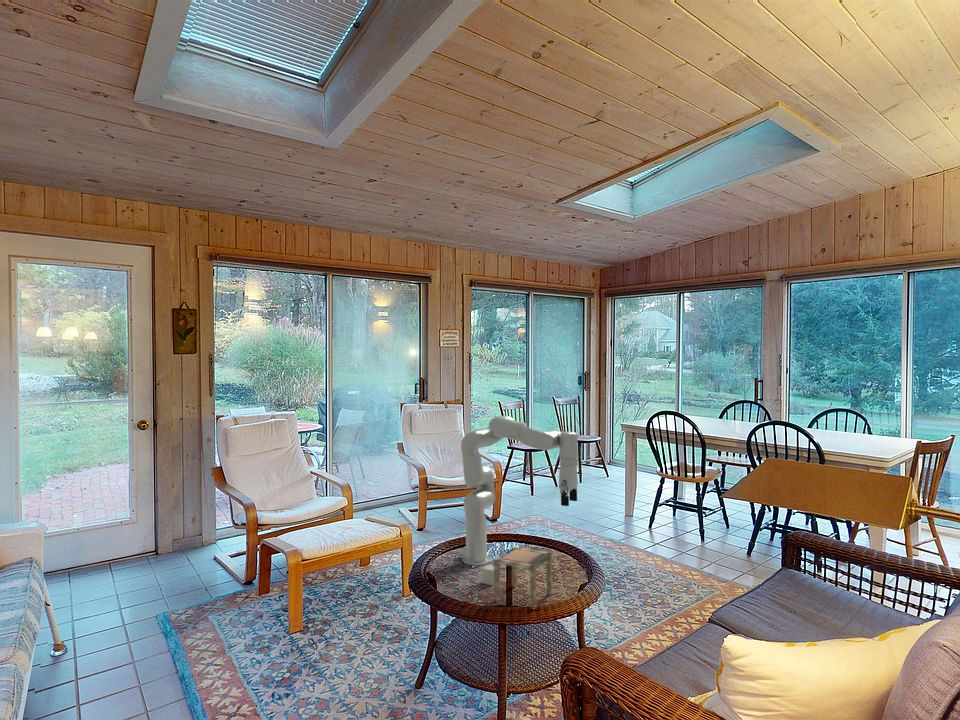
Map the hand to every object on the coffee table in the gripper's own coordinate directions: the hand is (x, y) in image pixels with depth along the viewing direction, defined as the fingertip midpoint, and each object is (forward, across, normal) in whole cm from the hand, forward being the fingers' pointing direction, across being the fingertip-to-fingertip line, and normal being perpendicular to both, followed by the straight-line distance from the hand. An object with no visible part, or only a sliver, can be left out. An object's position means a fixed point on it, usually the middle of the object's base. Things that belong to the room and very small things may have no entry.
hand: (569, 503), depth 221 cm
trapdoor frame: (+31, +26, -9) cm, 41 cm away
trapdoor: (+17, +26, -9) cm, 32 cm away
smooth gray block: (+31, +19, -27) cm, 45 cm away
